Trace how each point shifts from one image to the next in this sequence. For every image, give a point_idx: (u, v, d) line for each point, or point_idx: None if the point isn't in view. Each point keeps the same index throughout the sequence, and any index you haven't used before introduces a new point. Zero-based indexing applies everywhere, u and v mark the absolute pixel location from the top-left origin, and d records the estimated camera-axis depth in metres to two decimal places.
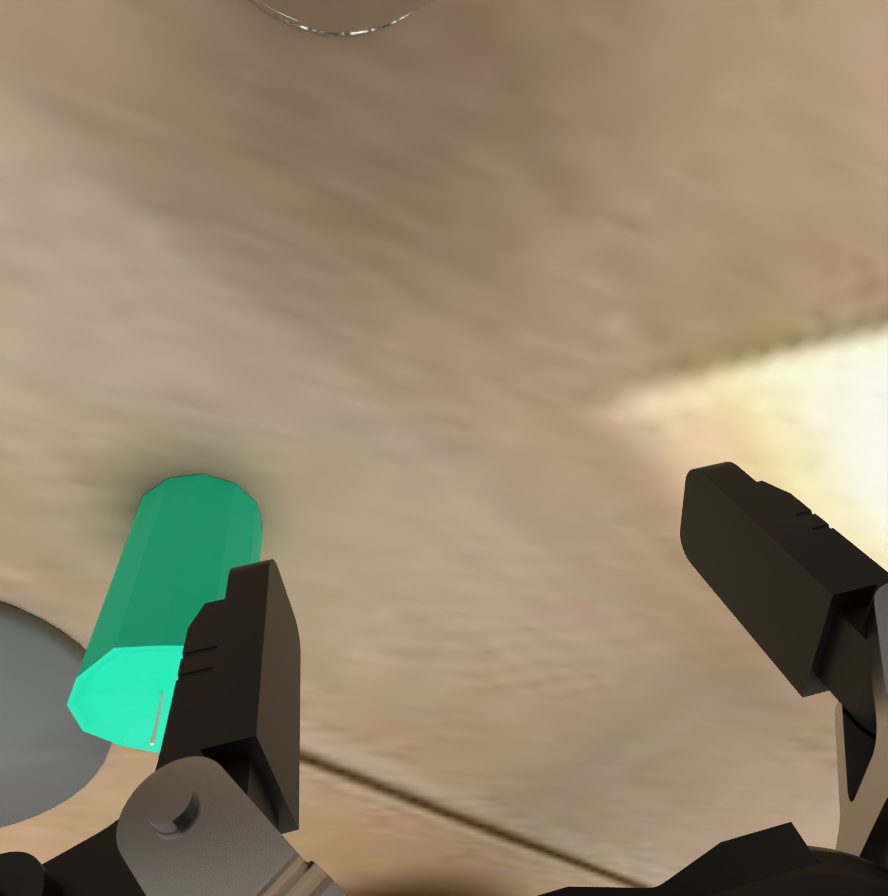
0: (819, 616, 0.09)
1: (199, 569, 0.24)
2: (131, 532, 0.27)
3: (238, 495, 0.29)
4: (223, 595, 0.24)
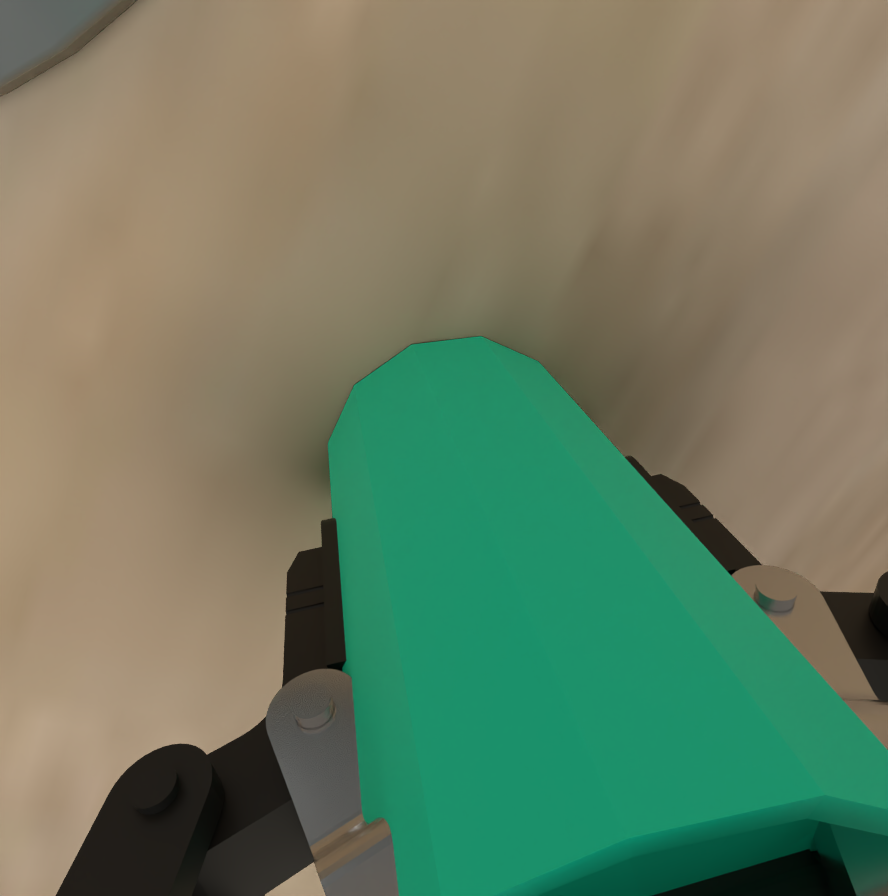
0: None
1: None
2: None
3: None
4: None
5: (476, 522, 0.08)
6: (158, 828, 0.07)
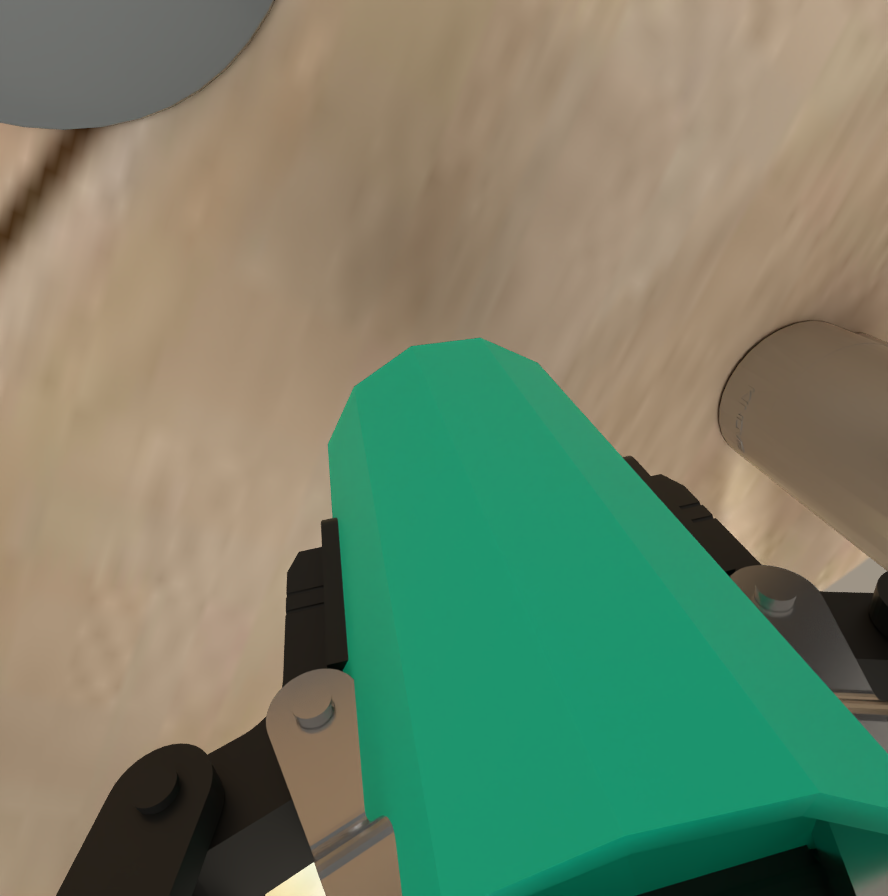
0: None
1: None
2: None
3: None
4: None
5: (475, 523, 0.08)
6: (158, 828, 0.07)
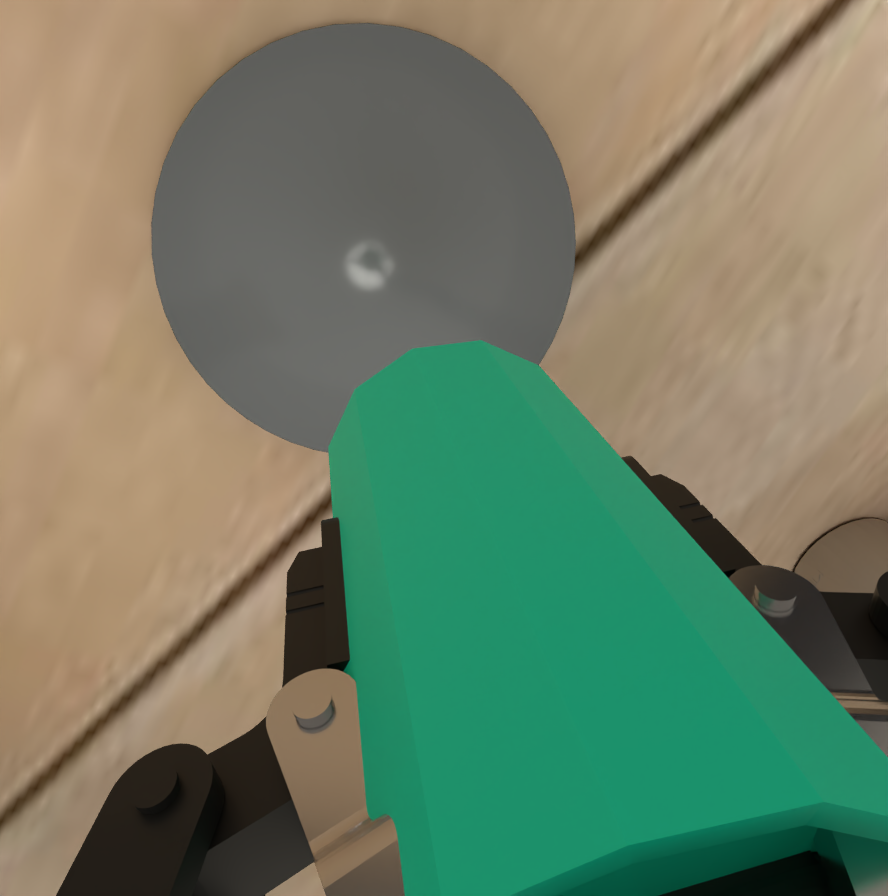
0: None
1: None
2: None
3: None
4: None
5: (476, 528, 0.08)
6: (158, 828, 0.07)
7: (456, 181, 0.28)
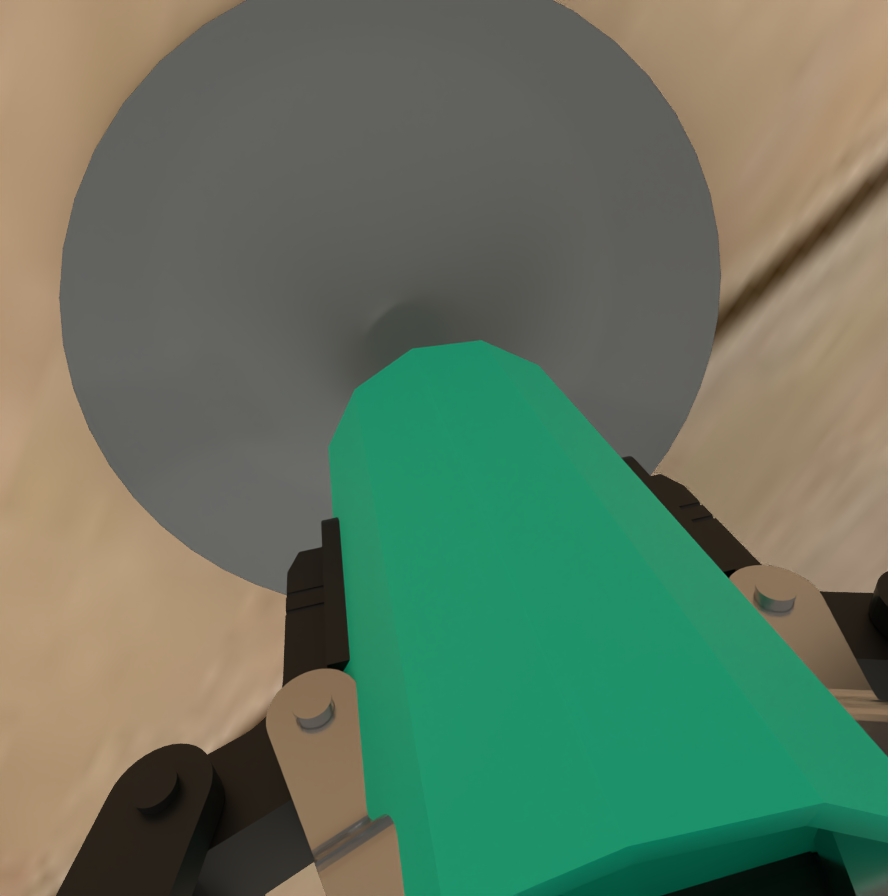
0: None
1: None
2: None
3: None
4: None
5: (476, 528, 0.08)
6: (158, 828, 0.07)
7: (549, 226, 0.18)
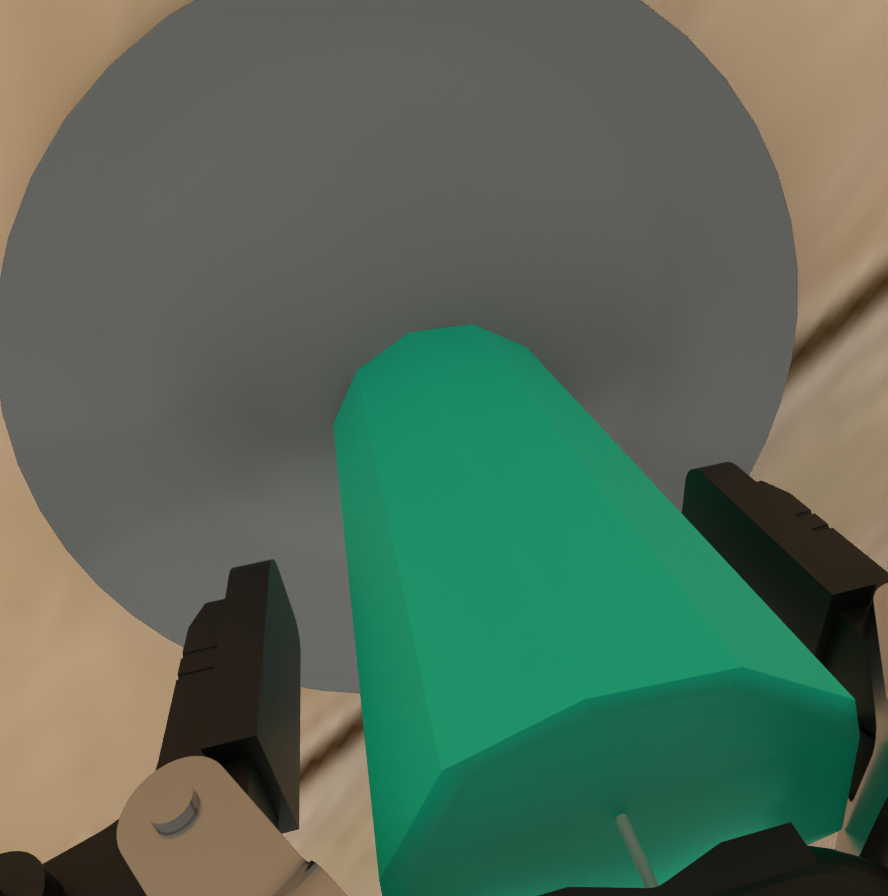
0: (818, 616, 0.09)
1: None
2: None
3: None
4: None
5: (467, 478, 0.09)
6: None
7: (598, 262, 0.14)
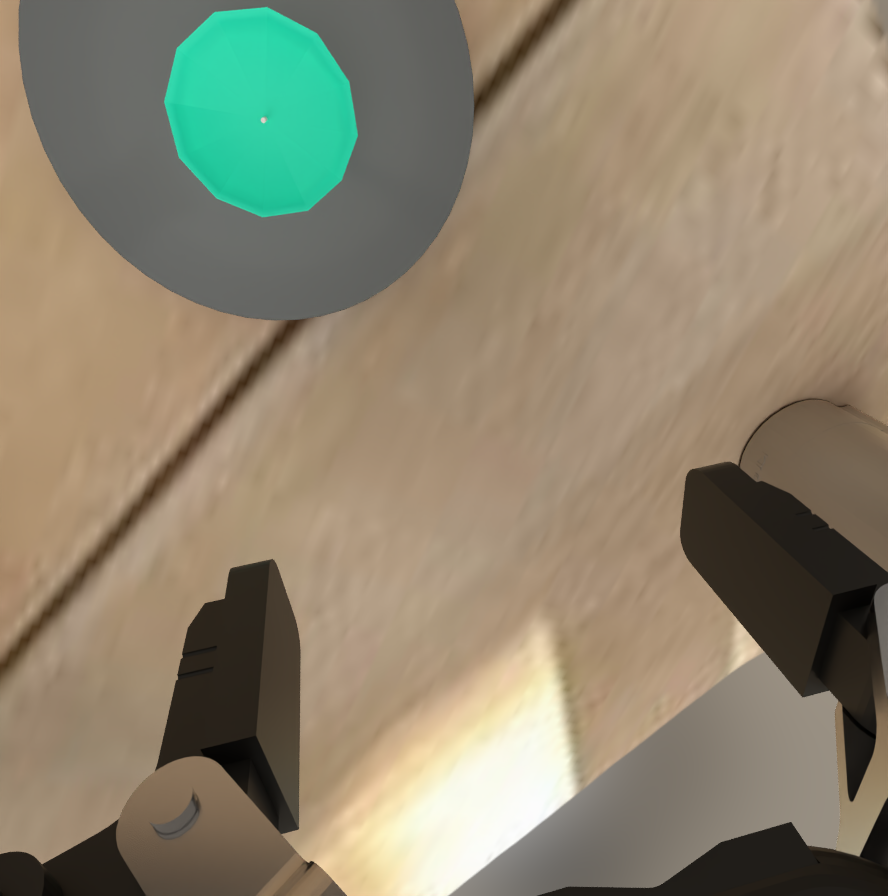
0: (819, 616, 0.09)
1: None
2: None
3: None
4: None
5: None
6: None
7: (338, 1, 0.27)
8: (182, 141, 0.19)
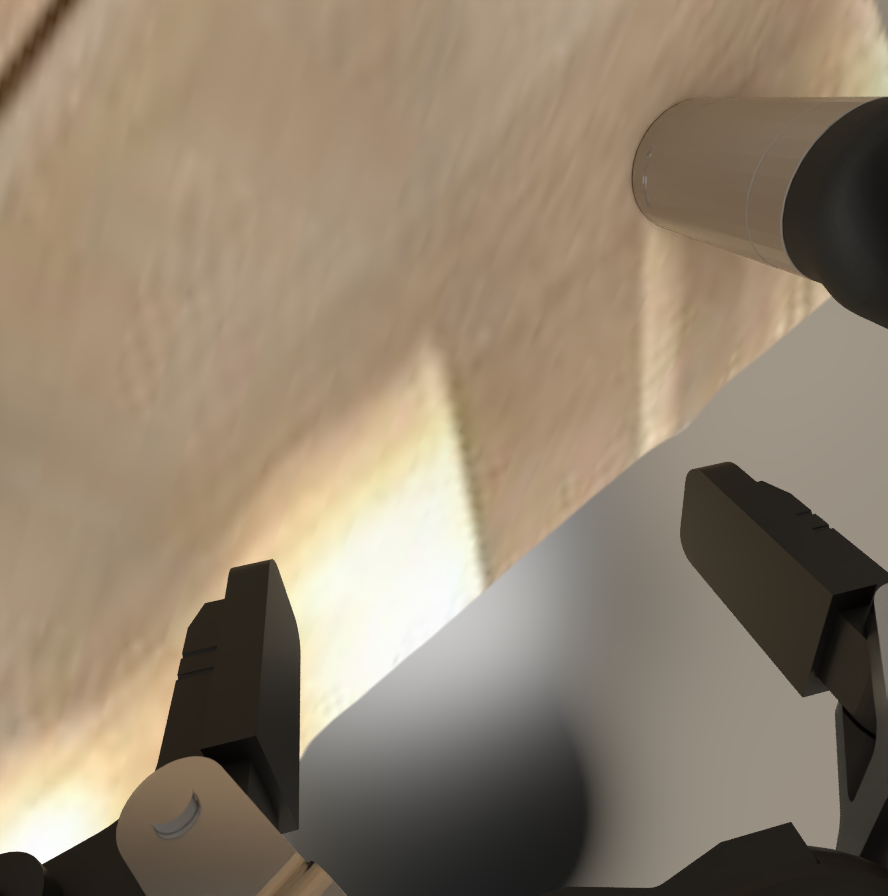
0: (819, 616, 0.09)
1: None
2: None
3: None
4: None
5: None
6: None
7: None
8: None
